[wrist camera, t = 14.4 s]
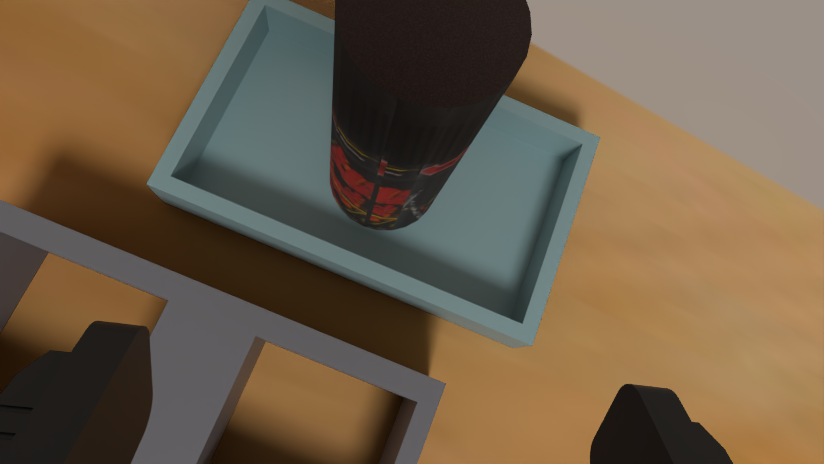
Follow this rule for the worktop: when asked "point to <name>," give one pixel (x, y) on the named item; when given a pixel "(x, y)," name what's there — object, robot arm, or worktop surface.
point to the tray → (330, 227)
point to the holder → (206, 345)
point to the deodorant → (414, 97)
